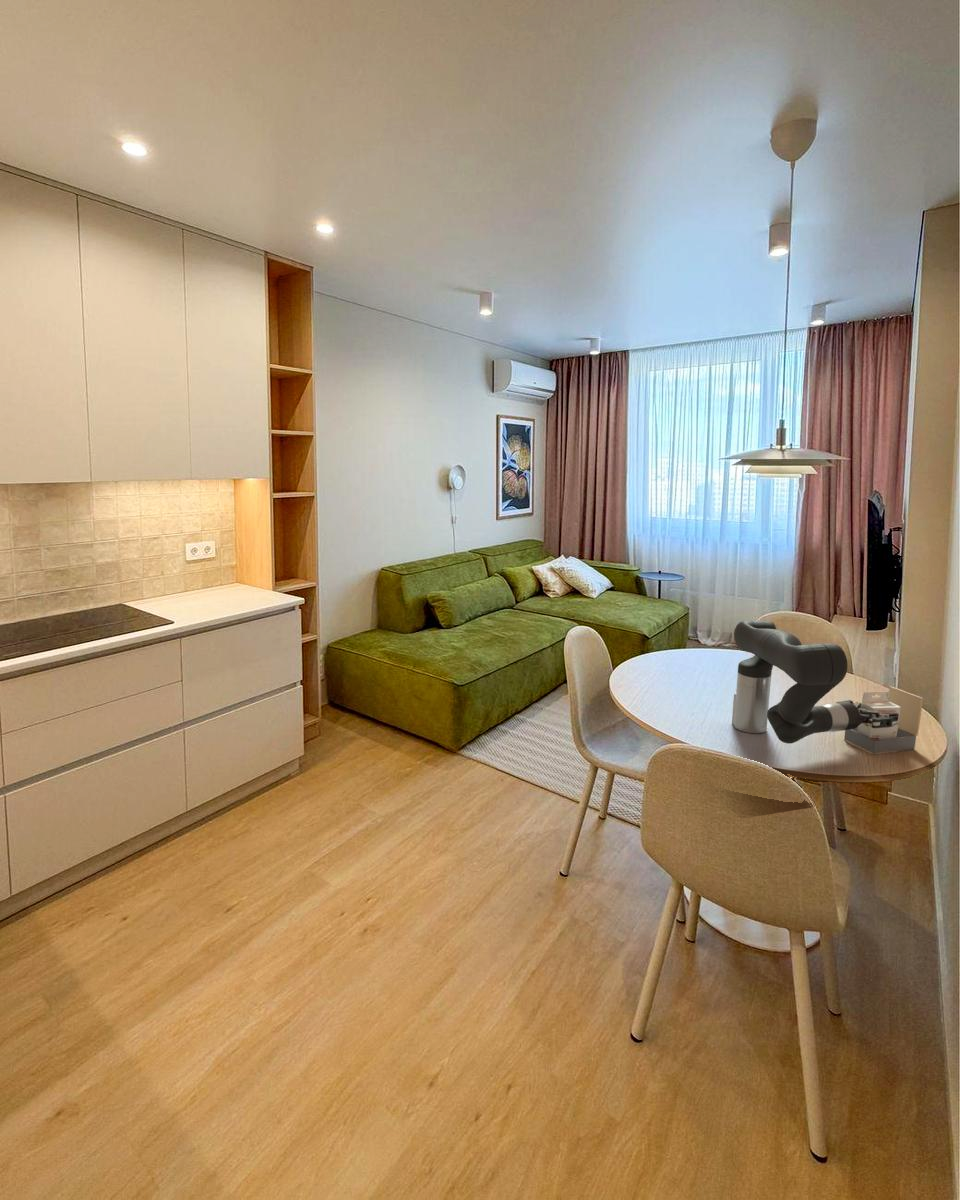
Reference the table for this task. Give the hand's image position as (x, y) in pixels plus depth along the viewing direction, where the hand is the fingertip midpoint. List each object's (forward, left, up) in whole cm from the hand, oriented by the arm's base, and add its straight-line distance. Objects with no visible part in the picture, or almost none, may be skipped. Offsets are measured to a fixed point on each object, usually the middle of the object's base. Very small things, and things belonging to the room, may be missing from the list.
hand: (883, 711), depth 175 cm
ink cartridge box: (0, -2, -10) cm, 10 cm away
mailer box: (0, -1, -10) cm, 10 cm away
